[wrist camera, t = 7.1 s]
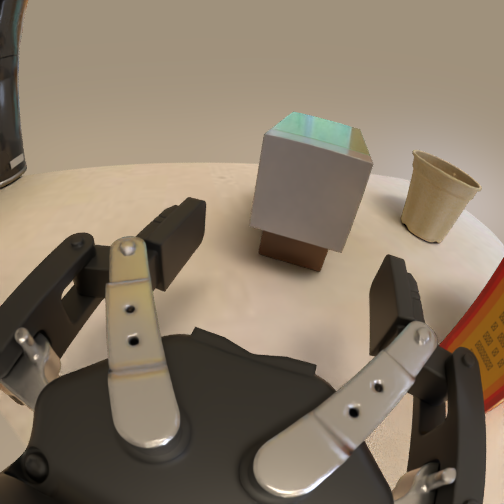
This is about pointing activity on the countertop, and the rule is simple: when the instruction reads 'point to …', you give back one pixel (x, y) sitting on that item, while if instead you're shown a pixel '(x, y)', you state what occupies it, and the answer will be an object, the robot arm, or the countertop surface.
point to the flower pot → (436, 196)
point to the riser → (292, 251)
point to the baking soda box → (485, 337)
